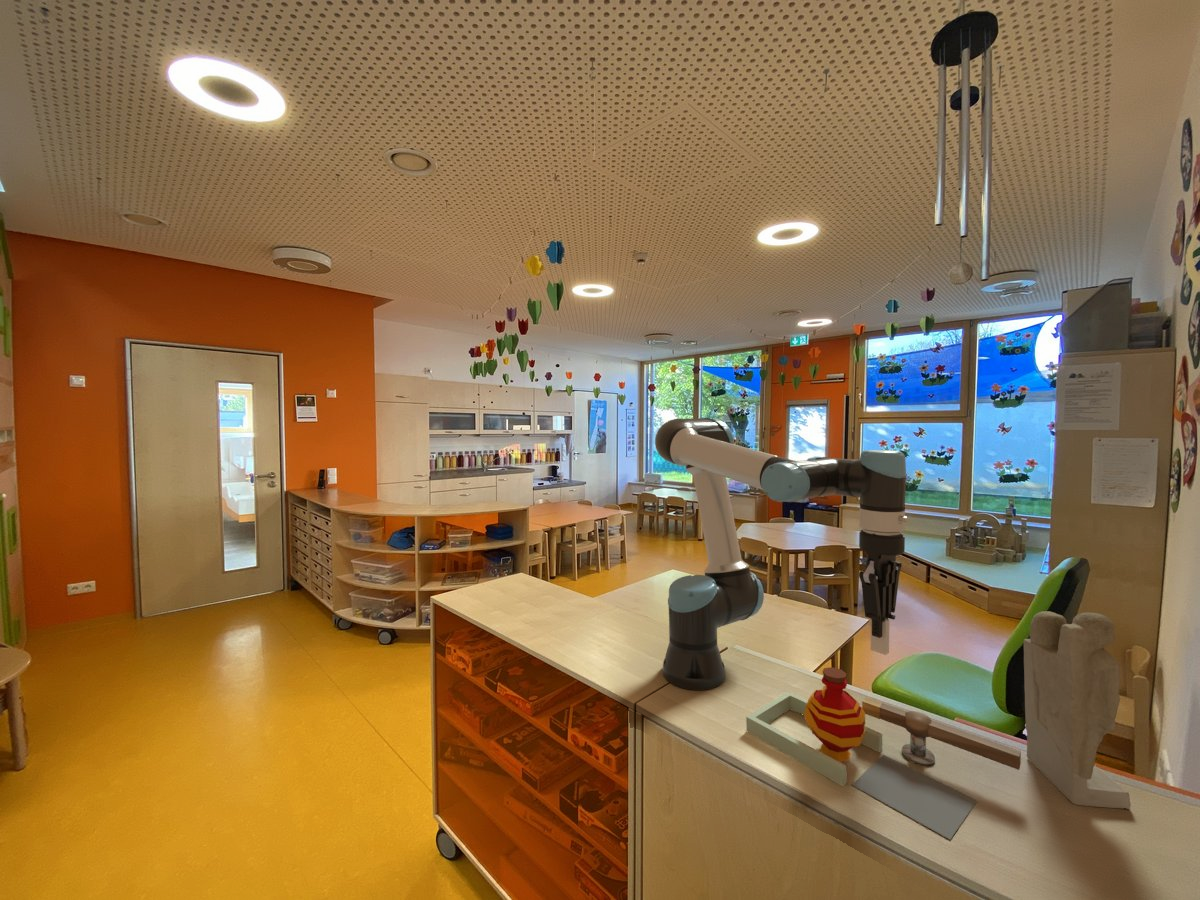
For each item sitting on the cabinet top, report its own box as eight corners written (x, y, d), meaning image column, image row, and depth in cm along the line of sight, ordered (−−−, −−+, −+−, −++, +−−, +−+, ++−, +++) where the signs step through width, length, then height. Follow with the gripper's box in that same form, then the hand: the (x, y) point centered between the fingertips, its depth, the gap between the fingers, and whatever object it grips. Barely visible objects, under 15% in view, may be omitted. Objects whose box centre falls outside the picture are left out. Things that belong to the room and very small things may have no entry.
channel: (746, 731, 96) (746, 716, 96) (788, 704, 105) (788, 691, 105) (842, 786, 81) (842, 769, 81) (882, 749, 90) (882, 733, 89)
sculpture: (1148, 825, 71) (1151, 626, 70) (1083, 817, 73) (1085, 623, 72) (1071, 758, 86) (1073, 592, 85) (1019, 753, 88) (1019, 590, 87)
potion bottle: (825, 728, 96) (824, 654, 96) (878, 756, 88) (877, 676, 87) (792, 747, 91) (791, 669, 90) (845, 780, 82) (844, 694, 82)
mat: (851, 785, 81) (851, 784, 81) (883, 755, 88) (883, 754, 88) (950, 840, 70) (950, 839, 70) (977, 800, 77) (977, 799, 77)
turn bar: (1018, 773, 76) (1018, 759, 76) (860, 715, 93) (860, 702, 92) (1021, 761, 79) (1021, 747, 79) (867, 706, 95) (867, 694, 95)
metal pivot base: (897, 754, 88) (897, 730, 88) (908, 743, 91) (908, 720, 91) (928, 769, 84) (928, 744, 84) (939, 757, 87) (939, 733, 87)
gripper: (887, 539, 85) (885, 669, 86) (917, 529, 93) (915, 648, 94) (845, 532, 91) (843, 654, 92) (876, 523, 99) (874, 635, 100)
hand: (879, 651), depth 93 cm, fingers closed
